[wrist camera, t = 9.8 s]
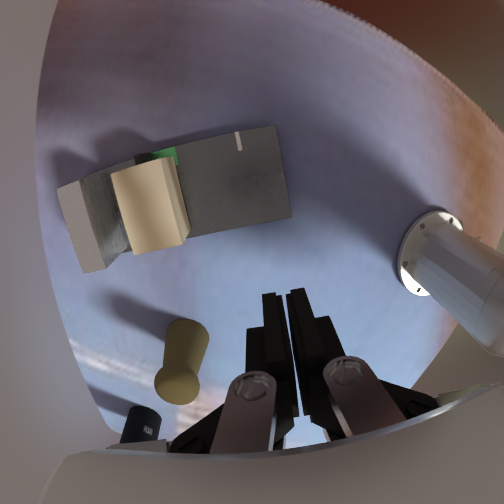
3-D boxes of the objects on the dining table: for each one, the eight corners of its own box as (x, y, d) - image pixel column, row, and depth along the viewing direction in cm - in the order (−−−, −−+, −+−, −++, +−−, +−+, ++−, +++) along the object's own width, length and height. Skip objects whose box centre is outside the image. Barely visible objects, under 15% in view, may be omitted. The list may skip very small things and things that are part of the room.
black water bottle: (132, 420, 45) (101, 548, 17) (127, 402, 42) (88, 543, 14) (162, 427, 45) (141, 560, 17) (160, 409, 43) (133, 557, 15)
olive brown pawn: (160, 322, 36) (138, 379, 26) (201, 315, 36) (190, 375, 26) (175, 355, 38) (161, 413, 28) (214, 349, 38) (209, 410, 28)
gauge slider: (171, 147, 27) (157, 147, 22) (190, 229, 30) (182, 244, 25) (127, 160, 27) (108, 163, 22) (148, 238, 30) (134, 255, 25)
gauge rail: (273, 126, 28) (284, 119, 21) (289, 214, 32) (303, 233, 25) (89, 174, 29) (55, 184, 22) (112, 251, 32) (85, 278, 25)
